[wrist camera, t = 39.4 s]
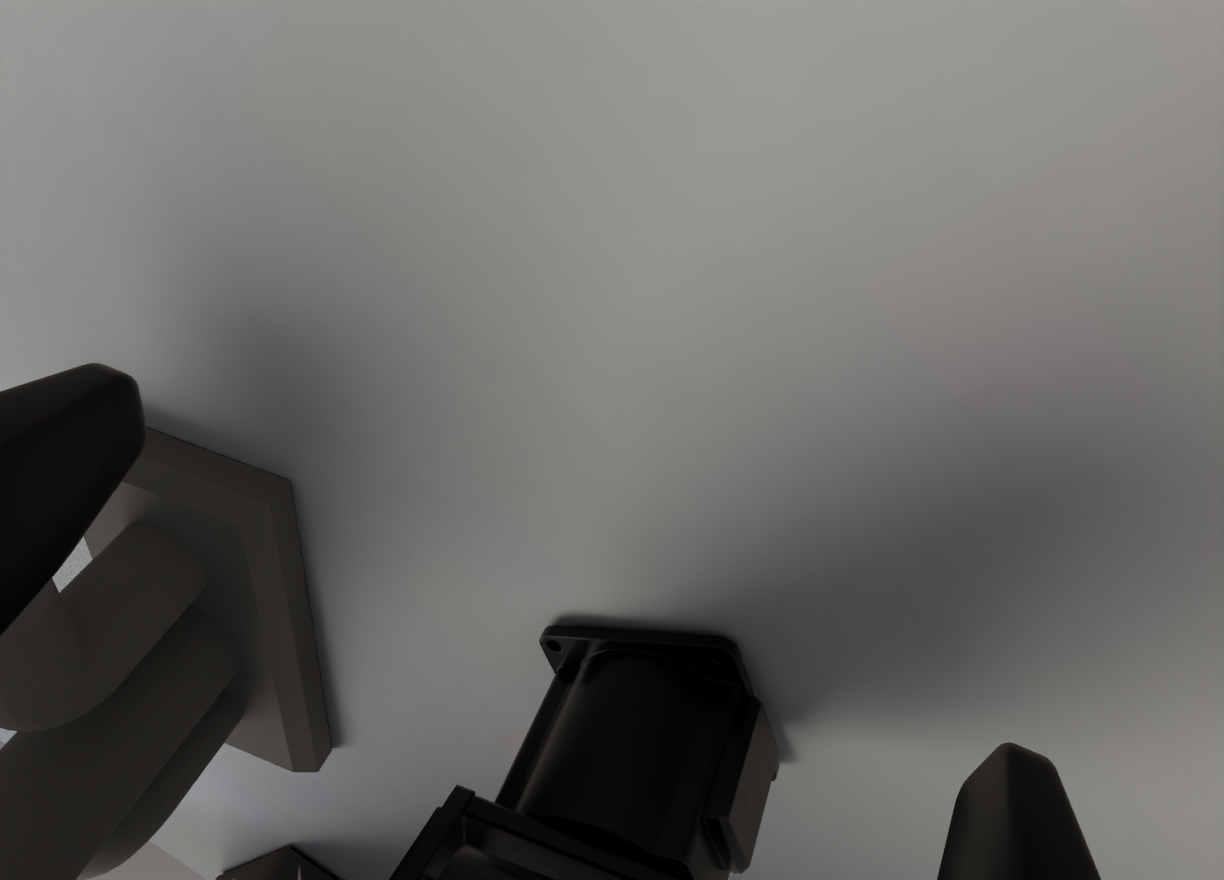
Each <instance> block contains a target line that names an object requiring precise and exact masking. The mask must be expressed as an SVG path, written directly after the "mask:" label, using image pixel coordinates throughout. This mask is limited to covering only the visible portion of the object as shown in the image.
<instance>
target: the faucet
mask: <svg viewBox="0 0 1224 880" xmlns="http://www.w3.org/2000/svg"><path fill="white" fill-rule="evenodd" d="M147 432H148V434H147V441H146V445H145V447H144V450H143V452H142V454H141V455H140V457H139V458H138V460H137V461H136V463H135V464H134V465H133V467H132V468H131V470H130V471H129V472H128V474H127V475H126V477H125V478H124V479H123V481H122V482H121V484H120V485H119V487H118V488H117V489H116V491H115V492H114V494H113V495H112V496H111V498H110V499H109V501H108V502H107V503H106V505H105V506H104V508H103V509H102V511H101V512H100V513H99V515H98V516H97V518H96V519H95V520H94V522H93V523H92V525H91V526H90V527H89V529H88V530H87V532H86V533H85V534H84V538H85V541H86V543H87V546H88V548H89V551H90V554H91V556H92V559H93V560H92V561H91V562H90V563H89V564H88V565H87V566H86V567H85V568H84V569H83V570H82V571H81V572H80V573H79V574H78V575H77V576H76V577H75V578H74V579H73V580H72V581H71V582H70V583H69V584H68V585H67V586H66V587H65V588H64V589H63V590H62V591H61V592H60V593H59V592H58V590H57V588H56V586H55V583H54V581H53V579H52V578H51V579H50V581H49V582H48V583H47V584H46V585H45V587H44V588H43V589H42V590H41V591H40V592H39V593H38V595H37V596H36V597H35V598H34V599H33V600H32V601H31V602H30V604H29V605H28V606H27V607H26V608H25V609H24V610H23V612H22V613H21V614H20V615H19V616H18V617H17V618H16V619H15V621H14V622H13V623H12V624H11V625H10V626H9V627H8V629H7V630H6V631H5V632H4V633H3V634H2V635H1V636H0V728H3V729H6V730H13V731H17V732H16V734H15V735H14V736H13V737H12V738H11V739H10V740H9V741H8V742H7V743H6V744H5V745H4V747H3V748H2V749H1V750H0V880H85V879H89V878H93V877H96V876H99V875H102V874H105V873H107V872H109V871H111V870H112V869H114V868H116V867H118V866H119V865H121V864H122V863H124V862H125V861H126V860H128V859H129V858H130V857H131V856H132V855H133V854H135V853H136V852H137V851H138V850H139V849H140V848H141V847H142V846H143V845H144V844H145V843H146V842H147V841H148V840H149V839H150V838H151V837H152V836H153V835H154V834H155V833H156V832H157V831H158V830H159V828H160V827H161V826H162V825H163V824H164V823H165V821H166V820H167V819H168V818H169V816H170V815H171V814H172V812H173V811H174V810H175V808H176V807H177V806H178V804H179V803H180V802H181V800H182V799H183V798H184V796H185V795H186V794H187V792H188V791H189V790H190V788H191V787H192V785H193V784H194V783H195V781H196V780H197V779H198V777H199V776H200V775H201V773H202V772H203V771H204V769H205V768H206V766H207V765H208V764H209V762H210V761H211V760H212V758H213V757H214V756H215V754H216V753H217V752H218V750H219V749H220V748H221V746H222V745H223V743H226V744H229V745H231V746H233V747H236V748H238V749H240V750H243V751H245V752H247V753H250V754H252V755H254V756H257V757H259V758H261V759H264V760H266V761H268V762H271V763H273V764H275V765H278V766H280V767H282V768H285V769H287V770H289V771H292V772H318V771H319V770H320V768H321V767H322V765H323V763H324V762H325V760H326V759H327V757H328V756H329V754H330V753H331V751H332V748H331V742H330V735H329V729H328V722H327V716H326V709H325V703H324V697H323V690H322V684H321V677H320V671H319V664H318V658H317V652H316V645H315V639H314V632H313V626H312V620H311V613H310V607H309V600H308V594H307V587H306V581H305V575H304V568H303V562H302V555H301V549H300V543H299V536H298V530H297V523H296V517H295V510H294V504H293V498H292V491H291V485H290V481H289V480H286V479H283V478H281V477H278V476H275V475H273V474H270V473H267V472H265V471H262V470H259V469H256V468H254V467H251V466H248V465H246V464H243V463H240V462H238V461H235V460H232V459H229V458H227V457H224V456H221V455H219V454H216V453H213V452H211V451H208V450H205V449H202V448H200V447H197V446H194V445H192V444H189V443H186V442H184V441H181V440H178V439H175V438H173V437H170V436H167V435H165V434H162V433H159V432H157V431H154V430H151V429H148V428H147Z"/></svg>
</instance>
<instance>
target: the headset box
mask: <svg viewBox="0 0 1224 880" xmlns="http://www.w3.org/2000/svg"><path fill="white" fill-rule="evenodd" d="M216 880H334V879H332V878H331V877H330V876H328V875H327V874H325V873H324V872H323V871H321V870H320V869H318V868H317V867H315V866H314V865H312V864H311V863H309V862H308V861H307V860H305V859H304V858H302V857H301V856H300V855H299V854H297V853H296V852H295V851H293V850H292V849H290V848H289V847H286V848H283V849H281V850H279V851H277V852H275V853H273V854H270V855H268V856H265V857H263V858H260V859H258V860H255V861H253V862H250V863H248V864H246V865H244V866H241V867H238V868H236V869H234V870H231V871H229V872H226V873H224V874H222V875H219V876H218V877H217V878H216Z"/></svg>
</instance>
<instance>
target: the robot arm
mask: <svg viewBox="0 0 1224 880" xmlns="http://www.w3.org/2000/svg"><path fill="white" fill-rule="evenodd" d="M147 434H148V432H147V426H146V421H145V416H144V412H143V407H142V402H141V397H140V393H139V388H138V385H137V383H136V381H135V380H134V379H133V377H131V376H130V375H128V374H126V373H123V372H121V371H118V370H116V369H114V368H111V367H109V366H106V365H104V364H99V363H90V364H85V365H82V366H79V367H76V368H72V369H69V370H66V371H63V372H60V373H57V374H54V375H51V376H48V377H44V378H41V379H38V380H35V381H32V382H29V383H26V384H23V385H19V386H16V387H13V388H10V389H7V390H4V391H1V392H0V636H1V635H2V634H3V633H4V632H5V631H6V630H7V629H8V627H9V626H10V625H11V624H12V623H13V622H14V621H15V619H16V618H17V617H18V616H19V615H20V614H21V613H22V612H23V610H24V609H25V608H26V607H27V606H28V605H29V604H30V602H31V601H32V600H33V599H34V598H35V597H36V596H37V595H38V593H39V592H40V591H41V590H42V589H43V588H44V587H45V585H46V584H47V583H48V582H49V581H50V579H51V578H52V577H53V576H54V575H55V573H56V572H57V571H58V570H59V569H60V567H61V566H62V565H63V563H64V562H65V561H66V559H67V558H68V557H69V555H70V554H71V553H72V551H73V550H74V549H75V547H76V546H77V544H78V543H79V542H80V540H81V539H82V537H83V536H84V534H85V533H86V532H87V530H88V529H89V527H90V526H91V525H92V523H93V522H94V520H95V519H96V518H97V516H98V515H99V513H100V512H101V511H102V509H103V508H104V506H105V505H106V503H107V502H108V501H109V499H110V498H111V496H112V495H113V494H114V492H115V491H116V489H117V488H118V487H119V485H120V484H121V482H122V481H123V479H124V478H125V477H126V475H127V474H128V472H129V471H130V470H131V468H132V467H133V465H134V464H135V463H136V461H137V460H138V458H139V457H140V455H141V454H142V452H143V450H144V447H145V445H146V441H147ZM539 641H540V645H541V647H542V649H543V651H544V653H545V655H546V657H547V659H548V661H549V663H550V665H551V667H552V669H553V671H554V673H555V674H556V675H555V677H554V679H553V681H552V683H551V685H550V687H549V689H548V691H547V693H546V695H545V697H544V700H543V702H542V704H541V706H540V708H539V710H538V712H537V714H536V716H535V718H534V720H533V722H532V725H531V727H530V729H529V731H528V733H527V735H526V737H525V739H524V741H523V743H522V745H521V747H520V750H519V752H518V754H517V756H516V758H515V760H514V762H513V764H512V766H511V768H510V770H509V773H508V775H507V777H506V779H505V781H504V783H503V785H502V787H501V789H500V791H499V793H498V795H497V798H496V800H495V802H494V803H493V802H491V801H488V800H486V799H483V798H481V797H478V796H476V795H475V791H472V790H470V789H467V788H465V787H462V786H460V785H456V787H455V788H454V790H453V791H452V793H451V794H450V796H449V797H448V799H447V800H446V802H445V803H444V805H443V806H442V807H437V809H436V810H435V811H434V813H433V814H432V816H431V817H430V819H429V820H428V822H427V823H426V825H425V826H424V828H423V829H422V831H421V832H420V834H419V835H418V837H417V838H416V840H415V841H414V843H413V844H412V846H411V847H410V849H409V850H408V852H407V853H406V855H405V856H404V858H403V859H402V861H401V862H400V864H399V865H398V867H397V868H396V870H395V871H394V873H393V874H392V876H391V877H390V879H389V880H728V877H729V873H730V872H734V873H739V874H741V873H743V872H744V871H745V870H746V869H747V868H748V867H749V866H750V862H751V858H752V854H753V851H754V847H755V843H756V839H757V835H758V831H759V827H760V823H761V820H762V816H763V812H764V808H765V804H766V800H767V796H768V792H769V789H770V785H771V782H772V781H774V780H775V779H776V777H777V773H778V769H779V763H778V760H777V757H778V748H777V745H776V742H775V739H774V736H773V733H772V730H771V727H770V724H769V722H768V719H767V716H766V713H765V710H764V707H763V704H762V703H761V701H760V700H759V699H758V697H757V696H756V695H755V694H754V691H753V688H752V685H751V682H750V679H749V676H748V673H747V671H746V668H745V665H744V662H743V659H742V656H741V653H740V650H739V648H738V647H737V645H736V644H735V643H734V642H733V641H731V640H729V639H727V638H724V637H719V636H706V635H691V634H676V633H661V632H646V631H630V630H615V629H600V628H585V627H570V626H555V625H553V626H548V627H546V628H545V630H544V632H543V634H542V636H541V638H540V640H539ZM937 880H1101V878H1100V876H1099V873H1098V871H1097V868H1096V866H1095V863H1094V861H1093V858H1092V856H1091V854H1090V851H1089V849H1088V846H1087V844H1086V841H1085V839H1084V836H1083V834H1082V831H1081V829H1080V826H1079V824H1078V821H1077V819H1076V816H1075V814H1074V812H1073V809H1072V807H1071V804H1070V802H1069V799H1068V797H1067V794H1066V792H1065V789H1064V787H1063V784H1062V782H1061V779H1060V777H1059V775H1058V772H1057V770H1056V768H1055V766H1054V765H1053V763H1052V762H1051V761H1050V760H1049V759H1048V758H1046V757H1045V756H1043V755H1041V754H1038V753H1036V752H1033V751H1031V750H1029V749H1026V748H1024V747H1021V746H1019V745H1017V744H1014V743H1010V742H1008V743H1004V744H1001V745H1000V746H999V747H997V748H996V749H995V750H994V751H993V752H992V753H991V755H990V756H989V757H988V758H987V759H986V760H985V761H984V762H983V763H982V764H981V765H980V766H979V767H978V768H977V769H976V770H975V771H974V772H973V773H972V774H971V775H970V776H969V777H968V778H967V779H966V781H965V782H964V784H963V785H962V787H961V789H960V791H959V793H958V796H957V799H956V802H955V806H954V810H953V815H952V819H951V823H950V827H949V831H948V836H947V840H946V844H945V848H944V853H943V857H942V861H941V865H940V869H939V874H938V878H937Z"/></svg>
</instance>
